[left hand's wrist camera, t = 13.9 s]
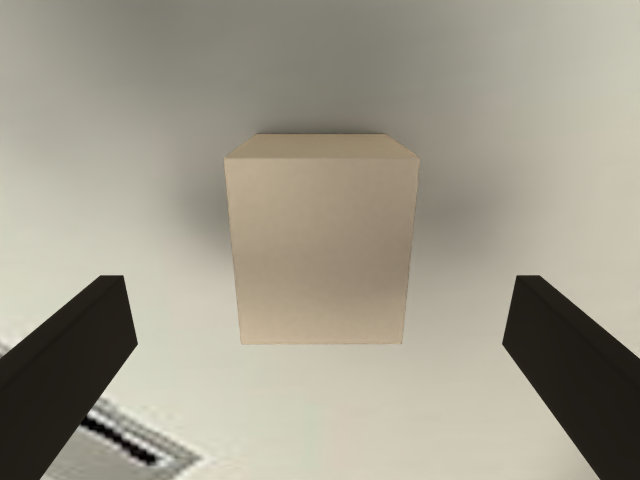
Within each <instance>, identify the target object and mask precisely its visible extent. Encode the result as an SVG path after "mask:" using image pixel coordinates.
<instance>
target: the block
mask: <svg viewBox="0 0 640 480" xmlns="http://www.w3.org/2000/svg"><path fill="white" fill-rule="evenodd" d="M223 160H224V170H225V181H226V191H227V202H228V212H229V222H230V233H231V243H232V254H233V264H234V275H235V285H236V296H237V306H238V316H239V327H240V337H241V344H402V338H403V328H404V318H405V308H406V297H407V287H408V277H409V267H410V257H411V247H412V237H413V227H414V217H415V207H416V196H417V186H418V176H419V166H420V158H419V157H418V156H417V155H415V154H414V153H412V152H411V151H409V150H408V149H407V148H405V147H404V146H402V145H401V144H399V143H398V142H397V141H395V140H394V139H392V138H391V137H389V136H388V135H387V134H255V135H254V136H253V137H251V138H250V139H249V140H247V141H246V142H245V143H243V144H242V145H241V146H239V147H238V148H237V149H235V150H234V151H232V152H231V153H230V154H228V155H227V156H226V157H224V159H223Z"/></svg>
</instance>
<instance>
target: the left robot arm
mask: <svg viewBox="0 0 640 480" xmlns="http://www.w3.org/2000/svg"><path fill="white" fill-rule="evenodd" d="M137 345H138V342H137V338H136V333H135V328H134V324H133V319H132V314H131V309H130V305H129V300H128V295H127V290H126V286H125V281H124V276H123V275H100V276H99V277H98V278H97V279H96V280H94V281H93V282H92V283H91V284H89V285H88V286H87V287H86V288H85V289H83V290H82V291H81V292H80V293H79V294H77V295H76V296H75V297H74V298H73V299H71V300H70V301H69V302H68V303H67V304H65V305H64V306H63V307H62V308H61V309H59V310H58V311H57V312H56V313H55V314H53V315H52V316H51V317H50V318H49V319H47V320H46V321H45V322H44V323H43V324H41V325H40V326H39V327H38V328H37V329H35V330H34V331H33V332H32V333H31V334H29V335H28V336H27V337H26V338H25V339H23V340H22V341H21V342H20V343H19V344H17V345H16V346H15V347H14V348H13V349H11V350H10V351H9V352H8V353H7V354H5V355H4V356H3V357H2V358H1V359H0V480H40V478H41V477H42V476H43V474H44V473H45V472H46V470H47V469H48V467H49V466H50V465H51V463H52V462H53V461H54V459H55V458H56V456H57V455H58V454H59V452H60V451H61V449H62V448H63V447H64V445H65V444H66V443H67V441H68V440H69V438H70V437H71V436H72V434H73V433H74V432H75V430H76V429H77V427H78V426H79V425H80V423H81V422H82V421H83V419H84V418H85V416H86V415H87V414H88V412H89V411H90V409H91V408H92V407H93V405H94V404H95V403H96V401H97V400H98V398H99V397H100V396H101V394H102V393H103V392H104V390H105V389H106V387H107V386H108V385H109V383H110V382H111V380H112V379H113V378H114V376H115V375H116V374H117V372H118V371H119V369H120V368H121V367H122V365H123V364H124V363H125V361H126V360H127V358H128V357H129V356H130V354H131V353H132V352H133V350H134V349H135V347H136V346H137ZM502 345H503V346H504V347H505V349H506V350H507V352H508V353H509V354H510V356H511V357H512V358H513V360H514V361H515V363H516V364H517V365H518V367H519V368H520V369H521V371H522V372H523V374H524V375H525V376H526V378H527V379H528V380H529V382H530V383H531V385H532V386H533V387H534V389H535V390H536V392H537V393H538V394H539V396H540V397H541V398H542V400H543V401H544V403H545V404H546V405H547V407H548V408H549V409H550V411H551V412H552V414H553V415H554V416H555V418H556V419H557V421H558V422H559V423H560V425H561V426H562V427H563V429H564V430H565V432H566V433H567V434H568V436H569V437H570V438H571V440H572V441H573V443H574V444H575V445H576V447H577V448H578V449H579V451H580V452H581V454H582V455H583V456H584V458H585V459H586V461H587V462H588V463H589V465H590V466H591V467H592V469H593V470H594V472H595V473H596V474H597V476H598V477H599V478H600V480H640V359H639V358H638V357H637V356H636V355H635V354H633V353H632V352H631V351H630V350H629V349H627V348H626V347H625V346H624V345H623V344H621V343H620V342H619V341H618V340H617V339H615V338H614V337H613V336H612V335H611V334H609V333H608V332H607V331H606V330H605V329H603V328H602V327H601V326H600V325H599V324H597V323H596V322H595V321H594V320H593V319H591V318H590V317H589V316H588V315H587V314H585V313H584V312H583V311H582V310H581V309H579V308H578V307H577V306H576V305H575V304H573V303H572V302H571V301H570V300H569V299H567V298H566V297H565V296H564V295H563V294H561V293H560V292H559V291H558V290H557V289H555V288H554V287H553V286H552V285H551V284H549V283H548V282H547V281H546V280H544V279H543V278H542V277H541V276H540V275H517V276H516V281H515V286H514V290H513V295H512V300H511V305H510V309H509V314H508V319H507V323H506V328H505V333H504V338H503V342H502Z"/></svg>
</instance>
